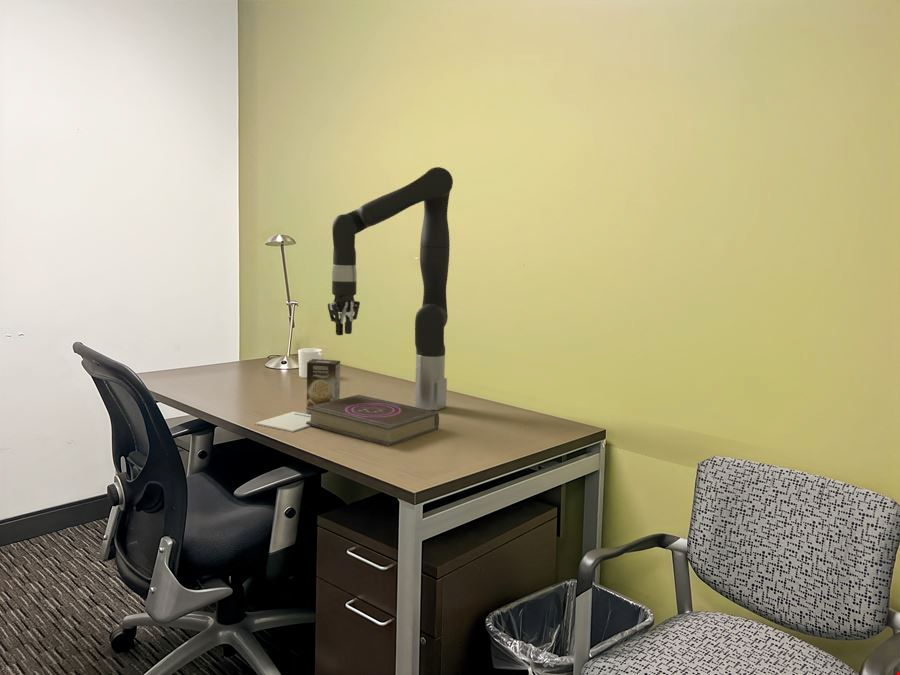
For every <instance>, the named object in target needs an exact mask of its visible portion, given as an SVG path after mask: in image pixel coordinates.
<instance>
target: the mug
mask: <svg viewBox="0 0 900 675" xmlns="http://www.w3.org/2000/svg"><path fill="white" fill-rule="evenodd" d="M297 352H298V353H297V354H298V357H297V358H298V371H299V373H298V374H299V378H300V379H306V380H307V362H309V361H310V360H312V359H322V360H324V356H323V350H322V349H320V348H313V347H312V348H310V347H309V348H300V349H298V350H297Z"/></svg>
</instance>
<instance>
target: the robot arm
mask: <svg viewBox="0 0 900 675" xmlns="http://www.w3.org/2000/svg"><path fill="white" fill-rule="evenodd" d="M453 184H454V180H453V176H452V174H451V172H450V171H449V170H447V169H446V168H444V167H441V166H436V167H431V168H430V169H428V170H427V171H426V172H425V173H424V174H422V175H421V176H420V177H417V179H415V180H414V181H412V182H410V183H408V184H407V185H405V186H403V187H401V188H398V189H396V190H393V191H391V192H389V193H386V194H384V195H382V196H380V197H377V198H375V199H372V200H371V201H368V202H366V203H364V204H363V205H361V206H359V208H357V209H355V210H352V211H350V212H348V213H344V214H339V215H337V216H336V217H335V218H334V220H333V221H332V225H331V226H332V228H331V231H332V242H333V243H332V244H333V253H332V254H333V255H332V272H331V285H332V286H331V294H332V295H333V296H334V299H333V302H332V303H327V310H328V313H329V317H330V321H331V322H334V323H335V335H336V336H343V335H344V334H347V335H351V334H352V333H353V322H354V320H357V318H358V314H359V309H360V305H361V302H360V301H358V300H355V296H356V295H357V285H358V284H357V273H358V272H357V251H356V246H355V245H356V235H357V234H358V233H360V232H363V231H364V230H365V229H368V228H370V227H372V226H376V225H378V224H380V223H382V222H384V221H386V220H388V219H390V218H393V217H395V216H396V215H398V214H399V213H401V212H403V211H405V210H407V209H408V208H410V207H412V206H414V205H416V204H417V205H418V204H419V203H423V206H424V208H423V209H424V210H423V212H424V213H423V222H422V228H421V233H420V234H421V235H420V244H419V264H420V265H419V266H420V273H421V277H422V278H421V279H422V285H423V295H422V305H421V308H419V309H418V311H416V315H415V318H414V345H415V352H416V353H415V383H414V384H415V385H414V386H415V387H414V388H415V389H414V407H417V408H421V409H426V410H430V411H440V410H442V409H444V408H446V407H447V389H448V386H447V385H448V379H447V377H445V373H446V372H445V368H446V345H445V341H444V339H445V327H446V325H447V322H448V320H449V319H448V317H449V316H448V304H447V302H448V301H447V283H448V276H449V266H450V249H451V248H450V243H451V242H450V240H451V239H450V230H449V229H450V228H449V222H448V211H449V210H448V208H449V200H450V194H451V191H452V188H453Z"/></svg>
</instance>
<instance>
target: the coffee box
mask: <svg viewBox="0 0 900 675" xmlns="http://www.w3.org/2000/svg"><path fill="white" fill-rule="evenodd" d="M340 387H341V360H335V359H323V360H322V359H312V360H310V361H309V362H307V379H306V407H309V406H314V405H318V404H322V403H326V402H330V401H334V400H339V399H341V396H340V394H341V392H340V391H341V388H340ZM305 409H306V408H305ZM305 414H309V415H311V411H310V410H307V409H306V413H305Z"/></svg>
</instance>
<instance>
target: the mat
mask: <svg viewBox="0 0 900 675" xmlns="http://www.w3.org/2000/svg"><path fill="white" fill-rule="evenodd" d="M310 419H311V414H306V413H303V412H297V411H291V412H288V413H284V414H279V415H277V416H274V417H270V418H268V419H264V420H261V421H257V422H255V425H256V424H257V426H261V427H262V426H263V427H267V428H271V429H277V430H282V431H285V430H286V432H290V433H295V432H297V431H301V430H303V429H307V428H309V427H313V426H312V425H308V424H306V422H308V421H310Z"/></svg>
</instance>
